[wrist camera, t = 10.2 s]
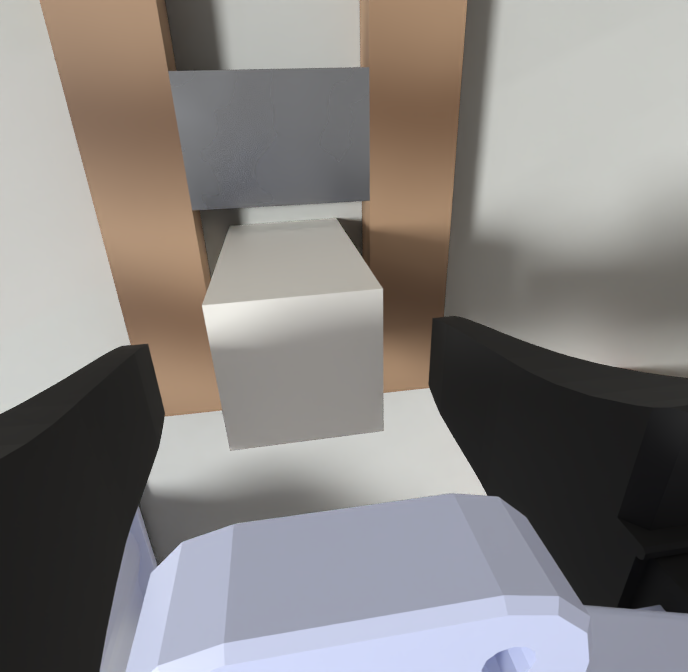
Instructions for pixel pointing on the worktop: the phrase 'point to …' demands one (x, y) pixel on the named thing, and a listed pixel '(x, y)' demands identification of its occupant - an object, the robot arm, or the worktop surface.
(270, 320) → the plug
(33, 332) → the worktop surface
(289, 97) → the socket panel
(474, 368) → the robot arm
